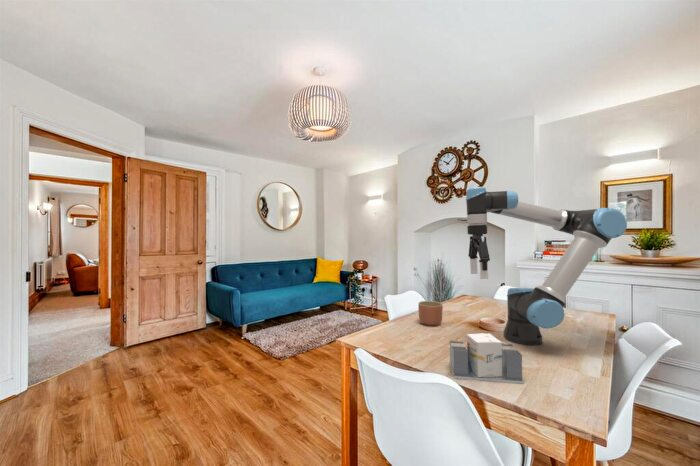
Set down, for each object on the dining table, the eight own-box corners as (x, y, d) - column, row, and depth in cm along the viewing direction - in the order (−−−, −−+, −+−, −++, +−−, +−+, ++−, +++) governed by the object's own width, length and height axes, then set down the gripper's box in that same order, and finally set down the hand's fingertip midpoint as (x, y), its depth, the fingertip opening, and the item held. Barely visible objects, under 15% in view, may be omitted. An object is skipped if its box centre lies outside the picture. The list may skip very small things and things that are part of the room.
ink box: (466, 365, 104) (466, 333, 104) (489, 365, 105) (489, 332, 105) (477, 377, 96) (477, 342, 96) (503, 377, 96) (502, 341, 96)
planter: (445, 327, 149) (445, 306, 149) (421, 327, 149) (421, 306, 149) (438, 320, 161) (438, 300, 161) (416, 320, 161) (416, 300, 161)
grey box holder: (511, 368, 104) (511, 342, 104) (523, 383, 93) (523, 355, 93) (449, 363, 108) (449, 338, 108) (454, 378, 97) (454, 350, 97)
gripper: (460, 225, 134) (461, 272, 133) (476, 224, 109) (478, 281, 109) (477, 225, 133) (479, 271, 132) (497, 223, 108) (500, 281, 108)
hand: (478, 276), depth 121 cm, fingers open, 13 cm apart
